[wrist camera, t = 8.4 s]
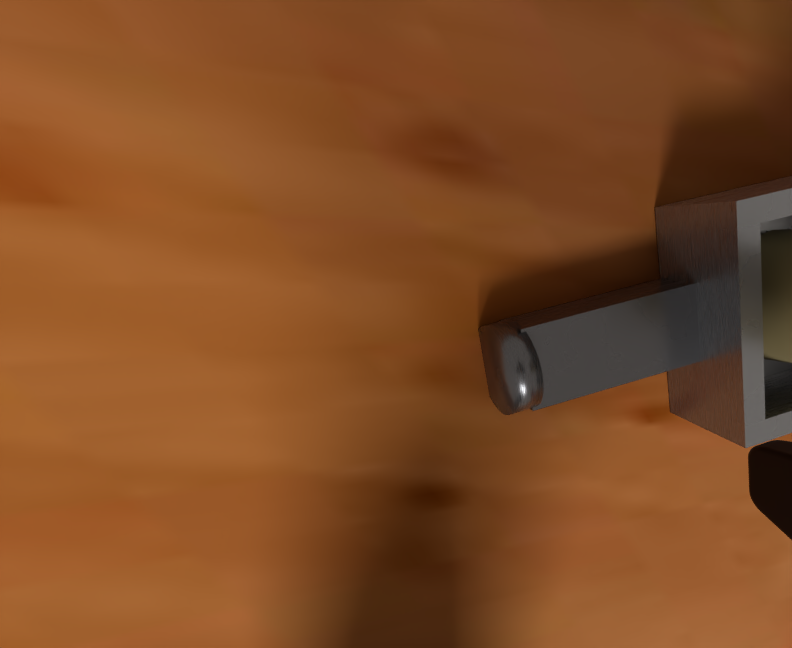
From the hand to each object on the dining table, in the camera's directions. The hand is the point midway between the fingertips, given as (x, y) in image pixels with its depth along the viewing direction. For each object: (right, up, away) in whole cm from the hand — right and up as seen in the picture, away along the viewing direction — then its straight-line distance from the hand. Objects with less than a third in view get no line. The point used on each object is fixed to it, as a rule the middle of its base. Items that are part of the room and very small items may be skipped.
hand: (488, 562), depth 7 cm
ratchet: (+12, +4, +16) cm, 20 cm away
